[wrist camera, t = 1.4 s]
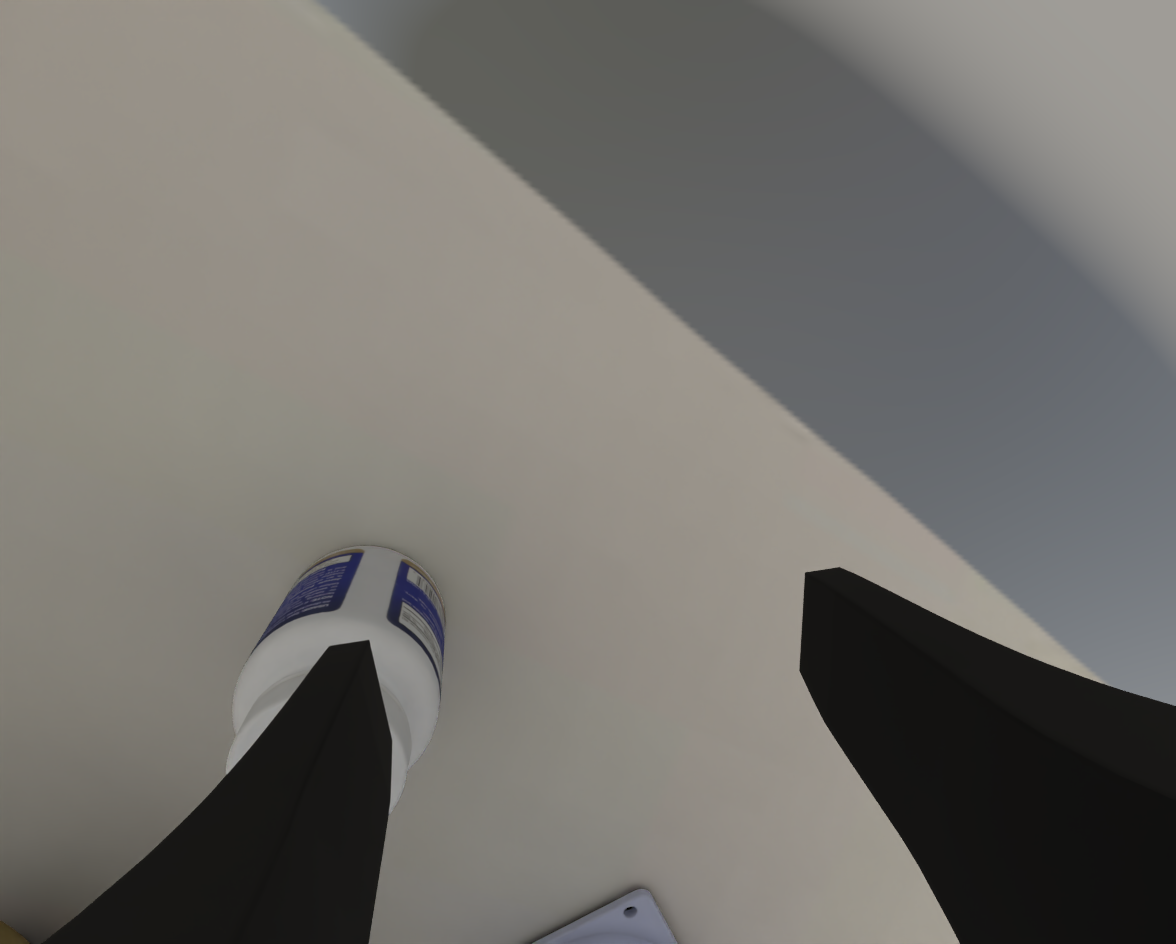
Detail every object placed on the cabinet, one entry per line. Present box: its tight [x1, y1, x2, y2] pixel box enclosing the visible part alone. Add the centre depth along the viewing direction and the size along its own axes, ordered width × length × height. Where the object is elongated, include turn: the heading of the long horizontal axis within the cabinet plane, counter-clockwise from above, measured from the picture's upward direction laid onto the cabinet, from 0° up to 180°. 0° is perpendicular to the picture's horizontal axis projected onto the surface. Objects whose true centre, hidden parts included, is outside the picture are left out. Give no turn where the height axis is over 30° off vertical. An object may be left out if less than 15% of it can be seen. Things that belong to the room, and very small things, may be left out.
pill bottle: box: [226, 546, 445, 816], centre depth 21 cm, size 5×5×9 cm
